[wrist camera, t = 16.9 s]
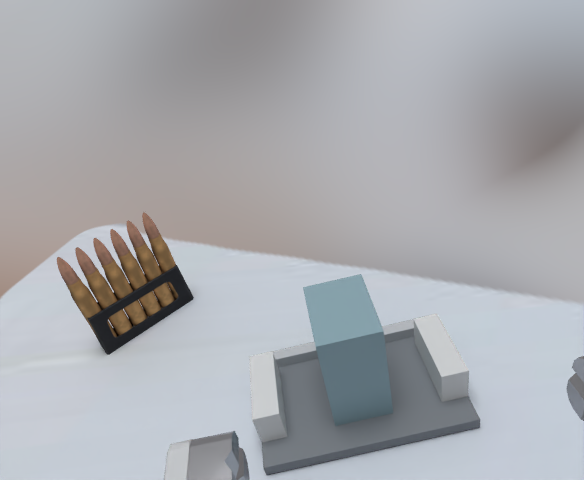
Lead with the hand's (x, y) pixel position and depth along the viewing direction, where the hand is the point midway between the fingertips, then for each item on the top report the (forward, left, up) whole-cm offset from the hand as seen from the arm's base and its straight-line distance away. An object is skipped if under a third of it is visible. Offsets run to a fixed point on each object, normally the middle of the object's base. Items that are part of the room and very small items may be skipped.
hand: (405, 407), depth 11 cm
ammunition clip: (-20, +32, -23) cm, 44 cm away
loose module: (0, +17, -21) cm, 27 cm away
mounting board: (0, +17, -22) cm, 28 cm away
